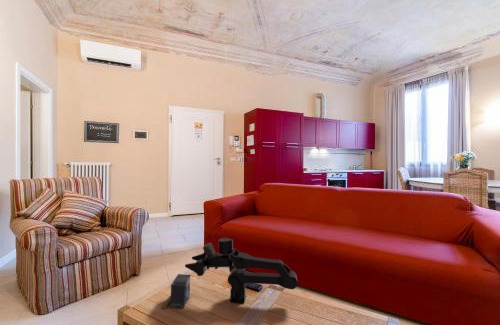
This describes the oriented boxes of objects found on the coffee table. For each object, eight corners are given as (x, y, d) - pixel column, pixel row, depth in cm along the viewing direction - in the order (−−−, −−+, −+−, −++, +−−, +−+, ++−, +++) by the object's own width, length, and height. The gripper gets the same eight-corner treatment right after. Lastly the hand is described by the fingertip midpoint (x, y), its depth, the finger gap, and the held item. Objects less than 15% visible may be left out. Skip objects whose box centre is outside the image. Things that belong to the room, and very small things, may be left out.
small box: (184, 308, 111) (184, 285, 111) (169, 308, 111) (170, 284, 111) (190, 295, 122) (190, 274, 122) (177, 295, 122) (177, 273, 122)
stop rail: (178, 292, 124) (178, 289, 124) (165, 309, 110) (165, 305, 110) (175, 292, 124) (175, 289, 124) (161, 308, 110) (161, 305, 110)
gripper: (223, 238, 130) (194, 239, 131) (213, 251, 111) (179, 252, 113) (224, 259, 130) (195, 260, 131) (215, 276, 111) (181, 276, 113)
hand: (188, 261), depth 122 cm, fingers open, 9 cm apart
